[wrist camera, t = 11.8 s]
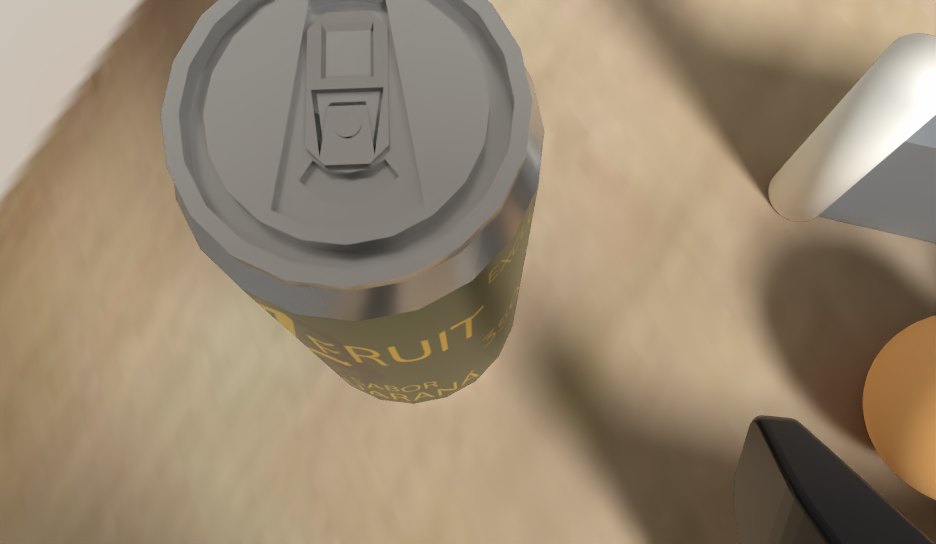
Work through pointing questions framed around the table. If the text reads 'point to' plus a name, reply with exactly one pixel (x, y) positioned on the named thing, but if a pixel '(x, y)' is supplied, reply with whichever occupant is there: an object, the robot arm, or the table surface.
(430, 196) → the beer can
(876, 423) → the ball
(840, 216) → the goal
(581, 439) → the table surface
